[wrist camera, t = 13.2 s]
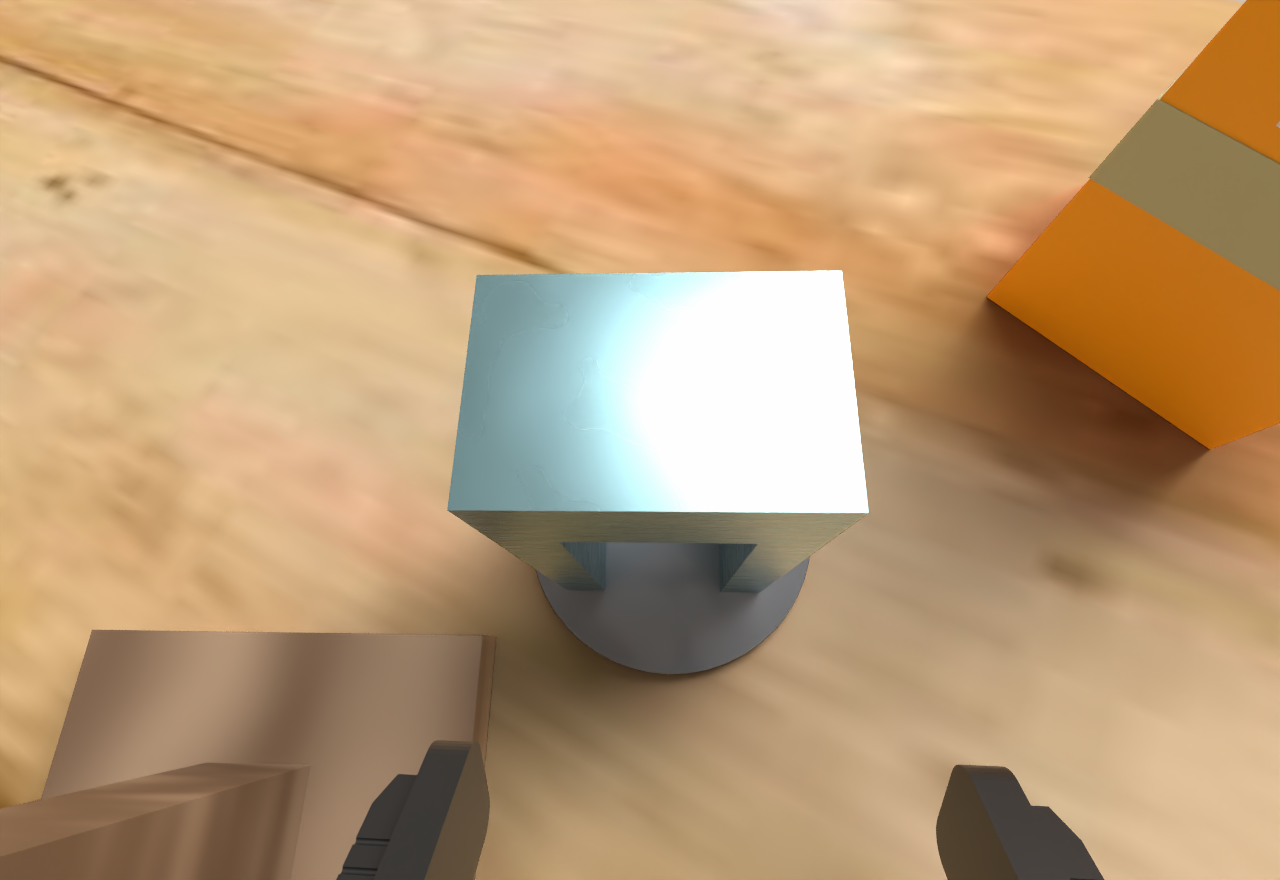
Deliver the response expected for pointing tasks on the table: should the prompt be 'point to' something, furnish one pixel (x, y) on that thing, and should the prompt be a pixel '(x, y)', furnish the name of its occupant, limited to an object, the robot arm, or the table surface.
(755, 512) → the c link
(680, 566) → the coaster
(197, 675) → the stand
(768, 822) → the table surface
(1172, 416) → the orange juice
